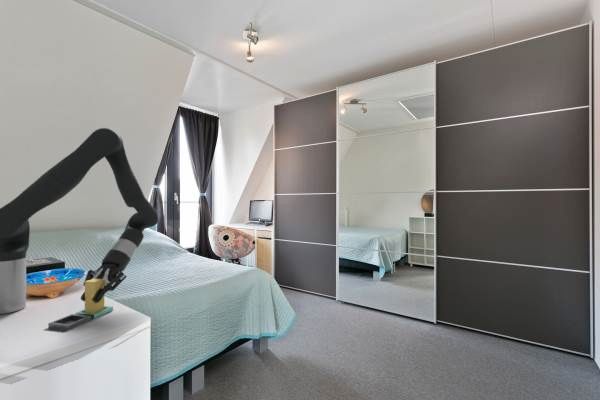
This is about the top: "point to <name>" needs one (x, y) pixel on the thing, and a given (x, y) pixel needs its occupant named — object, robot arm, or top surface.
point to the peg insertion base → (75, 320)
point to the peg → (90, 291)
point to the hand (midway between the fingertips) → (89, 300)
